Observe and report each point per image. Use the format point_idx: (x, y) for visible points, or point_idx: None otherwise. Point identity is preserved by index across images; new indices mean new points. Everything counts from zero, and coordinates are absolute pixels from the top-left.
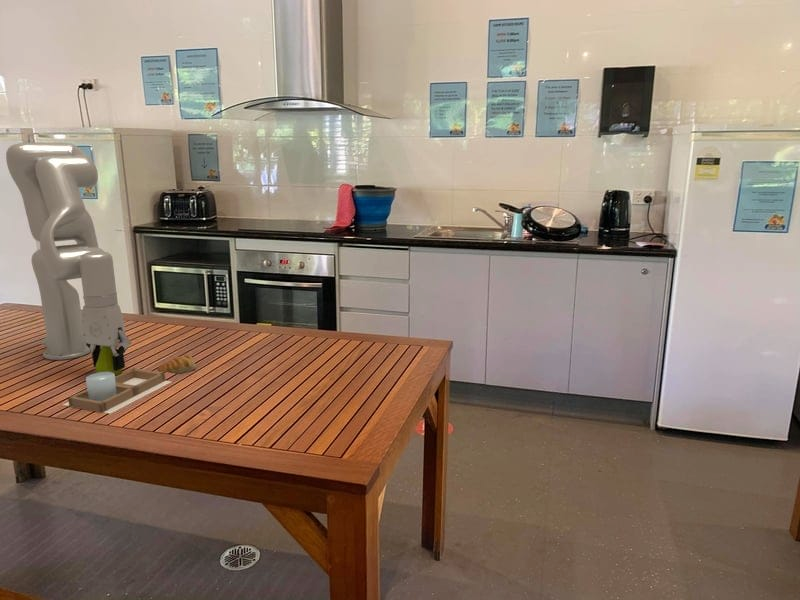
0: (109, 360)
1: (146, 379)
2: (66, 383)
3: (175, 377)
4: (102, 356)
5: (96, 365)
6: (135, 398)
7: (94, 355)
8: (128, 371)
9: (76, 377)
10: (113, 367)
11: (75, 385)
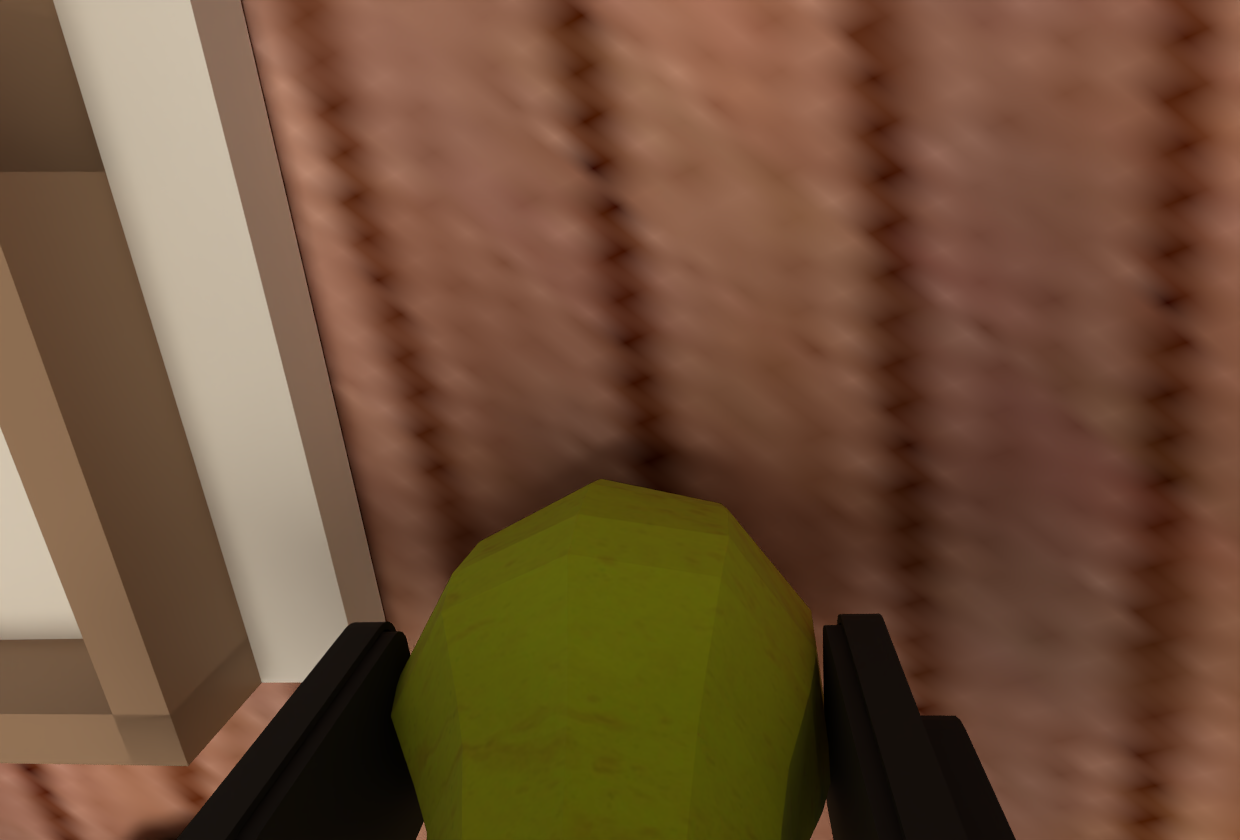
0: (440, 775)
1: (14, 638)
2: (1149, 154)
3: (18, 826)
4: (538, 819)
5: (688, 583)
6: None
7: (883, 836)
8: (120, 651)
9: (1189, 425)
10: (375, 657)
11: (901, 162)
